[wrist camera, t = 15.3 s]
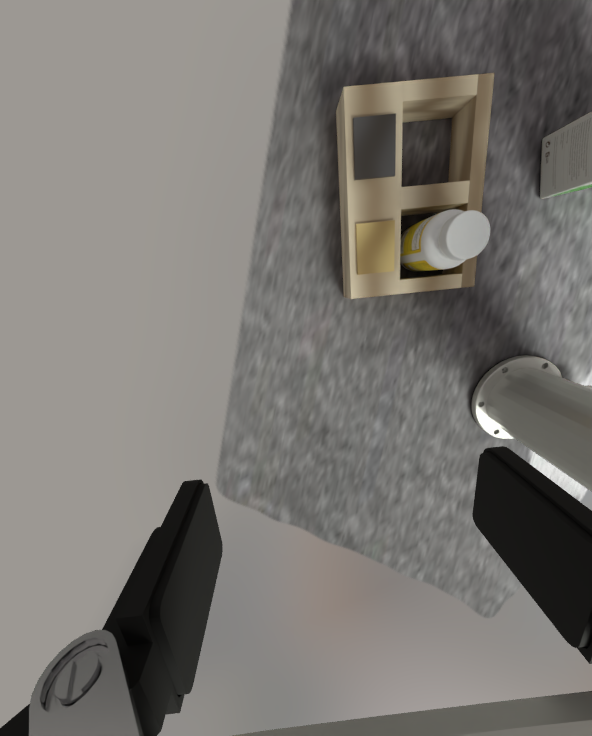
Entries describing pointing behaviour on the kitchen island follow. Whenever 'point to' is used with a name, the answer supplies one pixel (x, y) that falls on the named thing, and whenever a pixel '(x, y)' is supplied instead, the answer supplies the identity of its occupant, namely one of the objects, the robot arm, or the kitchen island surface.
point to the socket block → (384, 175)
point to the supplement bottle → (444, 240)
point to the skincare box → (567, 159)
